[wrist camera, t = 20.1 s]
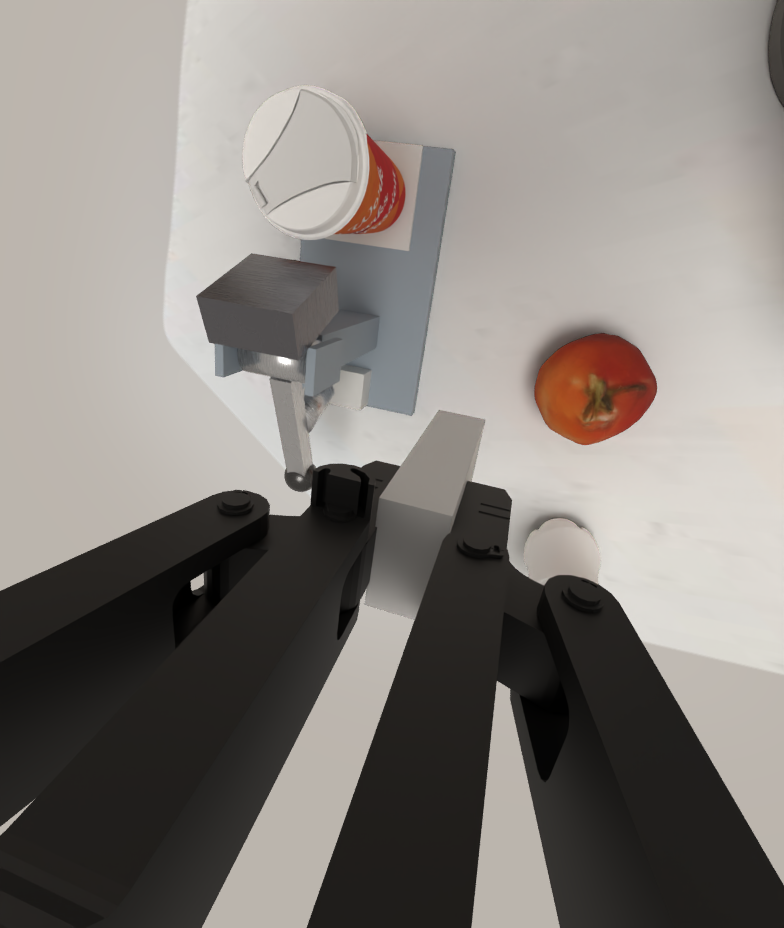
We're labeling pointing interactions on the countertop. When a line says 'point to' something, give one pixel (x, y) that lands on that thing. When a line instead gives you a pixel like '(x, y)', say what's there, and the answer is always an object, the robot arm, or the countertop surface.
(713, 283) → the countertop surface
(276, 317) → the lever
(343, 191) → the coffee cup
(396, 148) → the frame
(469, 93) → the countertop surface
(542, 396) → the tomato
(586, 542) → the water bottle
